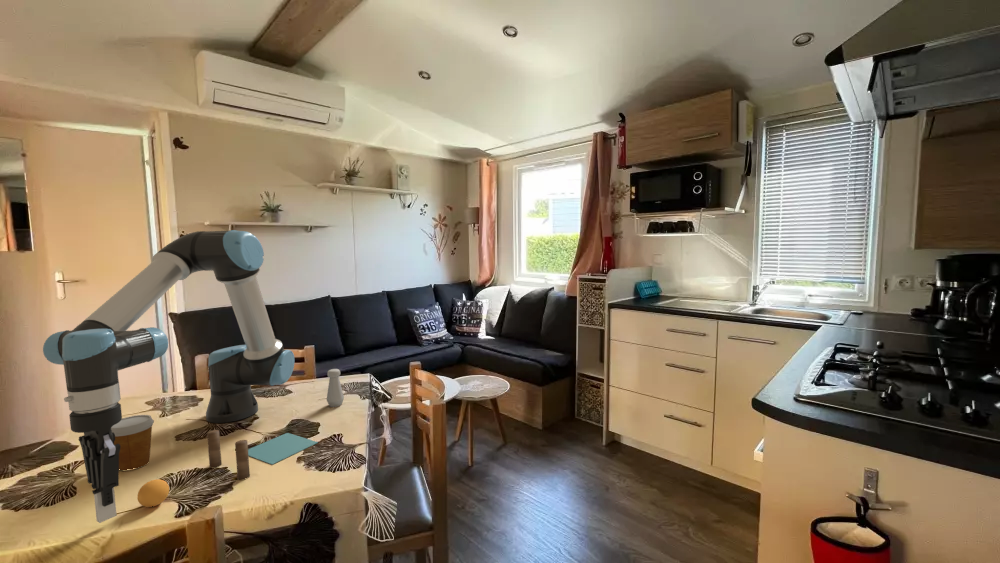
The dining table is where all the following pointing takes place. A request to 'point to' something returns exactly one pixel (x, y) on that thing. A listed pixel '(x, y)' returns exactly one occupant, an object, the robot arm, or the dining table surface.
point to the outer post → (242, 459)
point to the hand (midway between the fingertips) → (106, 518)
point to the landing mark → (280, 448)
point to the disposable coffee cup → (133, 440)
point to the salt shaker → (334, 389)
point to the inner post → (214, 448)
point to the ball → (153, 493)
